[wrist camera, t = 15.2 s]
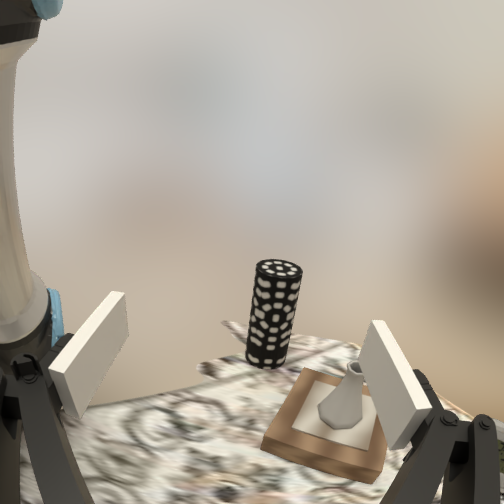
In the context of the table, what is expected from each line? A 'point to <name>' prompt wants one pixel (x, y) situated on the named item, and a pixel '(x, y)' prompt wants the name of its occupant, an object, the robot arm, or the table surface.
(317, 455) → the walnut plinth
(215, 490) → the table surface
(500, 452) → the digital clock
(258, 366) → the white-spotted black cylinder
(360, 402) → the flask
